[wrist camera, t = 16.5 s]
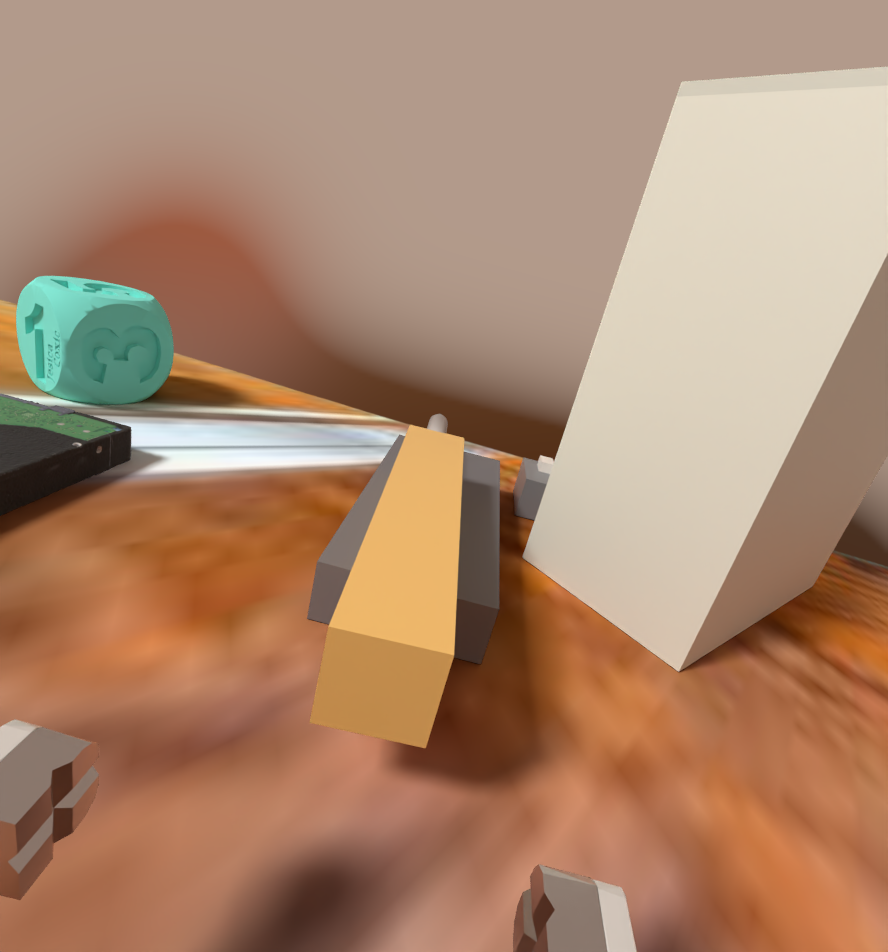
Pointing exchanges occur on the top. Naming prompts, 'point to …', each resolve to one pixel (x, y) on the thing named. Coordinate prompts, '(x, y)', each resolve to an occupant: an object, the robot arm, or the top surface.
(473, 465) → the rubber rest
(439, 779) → the top surface
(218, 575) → the top surface
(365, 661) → the long orange square stick
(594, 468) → the slotted cream upright block
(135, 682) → the top surface
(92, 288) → the decorative dice
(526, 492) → the switch box
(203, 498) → the top surface
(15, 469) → the disk drive
